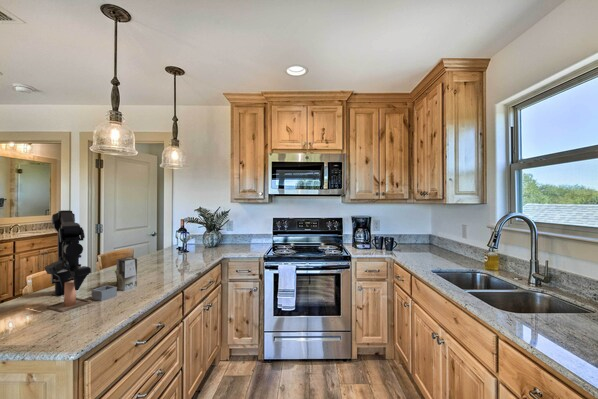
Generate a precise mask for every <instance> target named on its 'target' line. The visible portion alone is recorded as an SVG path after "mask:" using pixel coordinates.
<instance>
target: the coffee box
mask: <svg viewBox="0 0 598 399" xmlns="http://www.w3.org/2000/svg"><path fill="white" fill-rule="evenodd" d="M116 269H117V278H116V287H117V290H118V289H119V290H121V291H123V292H127V291H131V290H134V289H138V258H136V257H131V256H128V257H122V258H117V259H116Z"/></svg>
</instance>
